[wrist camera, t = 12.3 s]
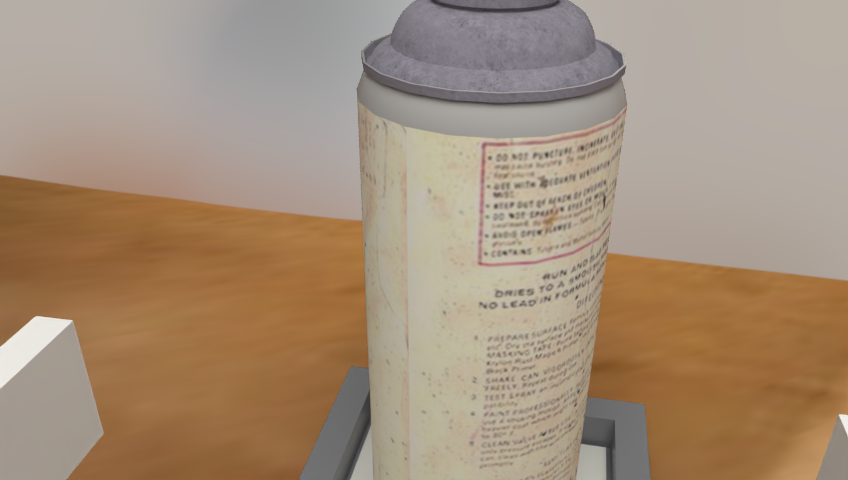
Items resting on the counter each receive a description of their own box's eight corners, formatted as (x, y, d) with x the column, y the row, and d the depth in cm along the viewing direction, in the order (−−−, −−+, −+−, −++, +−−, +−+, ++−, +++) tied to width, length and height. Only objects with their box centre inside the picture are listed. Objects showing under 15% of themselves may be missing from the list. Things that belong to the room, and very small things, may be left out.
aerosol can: (486, 431, 31) (515, -99, 21) (608, 545, 26) (718, -76, 16) (340, 504, 28) (297, -85, 18) (449, 652, 23) (469, -52, 13)
